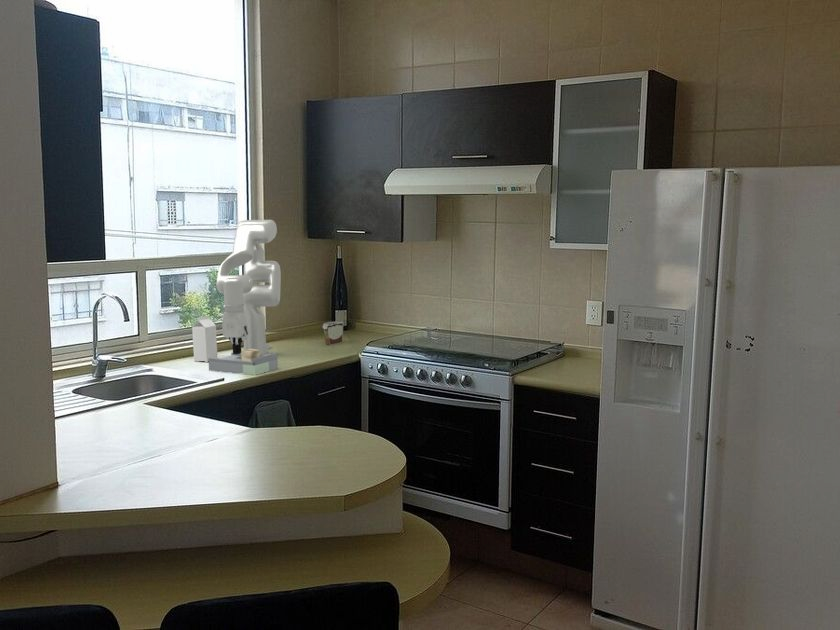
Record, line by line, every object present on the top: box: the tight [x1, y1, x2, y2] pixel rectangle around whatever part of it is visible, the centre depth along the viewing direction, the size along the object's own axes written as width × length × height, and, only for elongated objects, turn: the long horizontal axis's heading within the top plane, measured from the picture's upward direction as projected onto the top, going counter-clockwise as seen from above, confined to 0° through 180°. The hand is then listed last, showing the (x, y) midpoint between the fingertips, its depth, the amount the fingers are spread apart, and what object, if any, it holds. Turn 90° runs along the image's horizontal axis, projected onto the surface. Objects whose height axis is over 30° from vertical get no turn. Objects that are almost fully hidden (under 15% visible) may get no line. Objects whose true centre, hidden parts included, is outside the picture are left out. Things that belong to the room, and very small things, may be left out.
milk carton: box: [191, 315, 219, 363], centre depth 347 cm, size 7×7×19 cm
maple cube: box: [241, 349, 260, 362], centre depth 319 cm, size 5×5×5 cm
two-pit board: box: [208, 352, 279, 376], centre depth 326 cm, size 14×24×6 cm, turn 61°
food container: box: [322, 321, 345, 346], centre depth 386 cm, size 12×6×10 cm, turn 144°
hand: (237, 353), depth 325 cm, fingers closed
